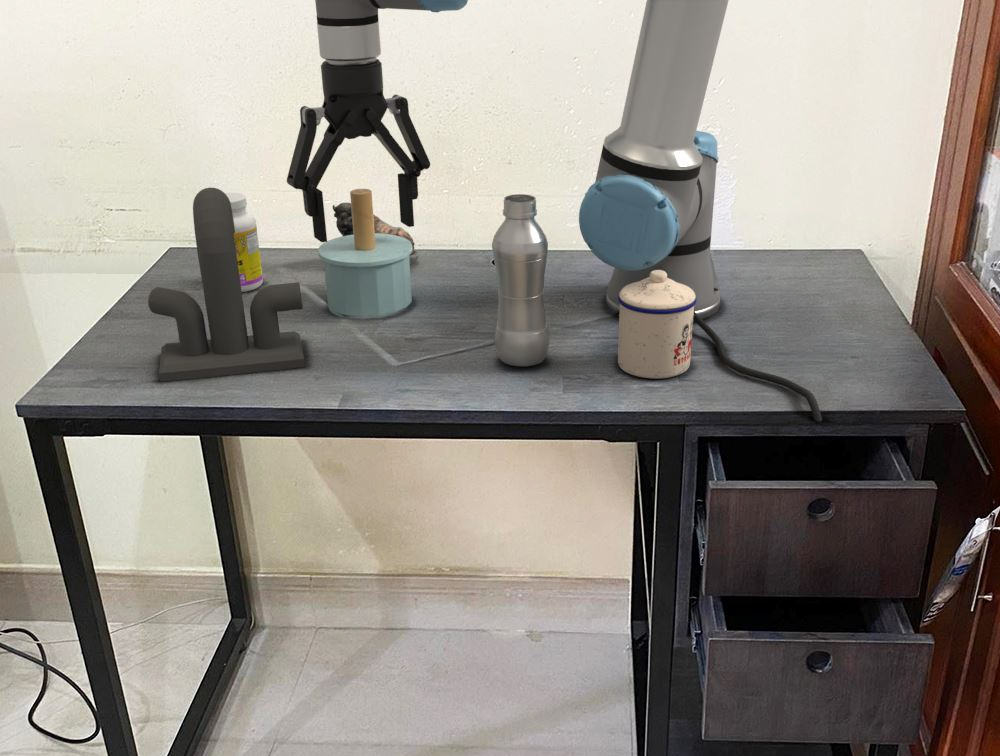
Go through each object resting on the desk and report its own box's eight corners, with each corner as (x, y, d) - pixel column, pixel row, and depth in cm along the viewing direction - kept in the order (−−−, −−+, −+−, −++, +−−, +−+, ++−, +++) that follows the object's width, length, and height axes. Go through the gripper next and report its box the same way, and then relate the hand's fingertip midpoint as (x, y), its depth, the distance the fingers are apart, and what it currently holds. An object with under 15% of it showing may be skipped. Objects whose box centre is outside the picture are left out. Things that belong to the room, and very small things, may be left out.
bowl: (425, 309, 156) (422, 256, 152) (347, 326, 151) (342, 271, 147) (391, 285, 164) (387, 234, 161) (316, 300, 160) (310, 247, 156)
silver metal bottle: (532, 377, 136) (531, 209, 126) (484, 365, 139) (479, 201, 129) (559, 358, 140) (560, 195, 130) (512, 347, 144) (509, 188, 134)
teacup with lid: (689, 383, 133) (696, 287, 128) (611, 378, 135) (614, 283, 129) (695, 344, 144) (701, 253, 138) (622, 339, 145) (626, 250, 139)
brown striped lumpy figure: (418, 260, 174) (414, 193, 169) (420, 275, 168) (416, 207, 163) (338, 264, 173) (332, 197, 168) (337, 279, 167) (331, 210, 162)
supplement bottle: (207, 290, 164) (193, 201, 157) (233, 276, 169) (221, 189, 163) (247, 296, 162) (235, 205, 155) (272, 281, 167) (261, 193, 160)
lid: (428, 260, 152) (425, 195, 148) (339, 277, 147) (333, 210, 143) (389, 236, 162) (385, 174, 157) (305, 251, 157) (298, 187, 152)
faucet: (301, 320, 153) (284, 169, 143) (310, 366, 140) (291, 203, 130) (161, 334, 150) (134, 180, 140) (156, 382, 137) (126, 216, 127)
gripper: (425, 46, 150) (433, 210, 160) (247, 65, 140) (268, 239, 151) (451, 53, 144) (458, 224, 155) (267, 74, 134) (288, 254, 145)
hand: (364, 231), depth 153 cm, fingers open, 12 cm apart
